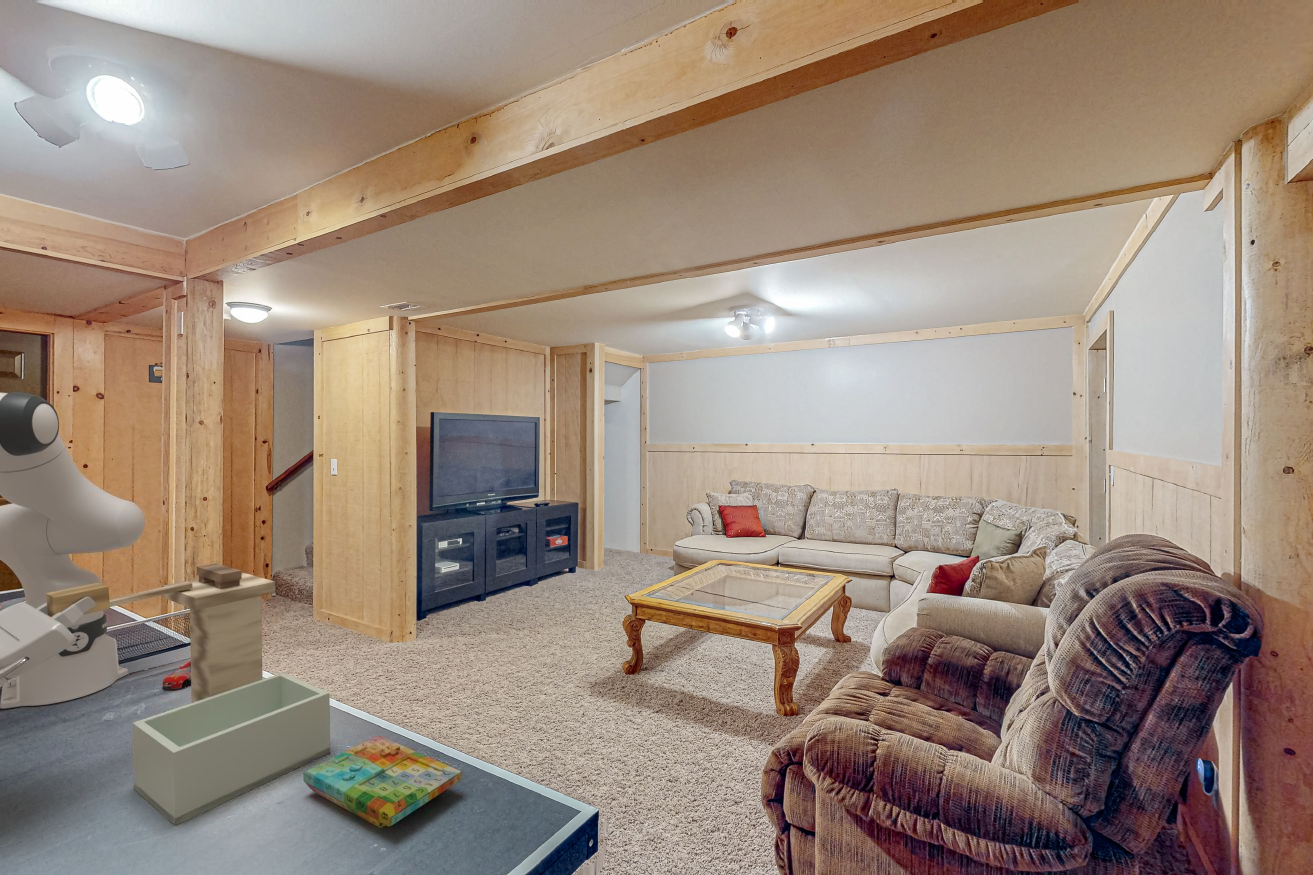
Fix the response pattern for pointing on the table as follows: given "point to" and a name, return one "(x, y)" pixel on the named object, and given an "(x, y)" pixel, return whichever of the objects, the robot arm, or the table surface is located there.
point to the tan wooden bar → (102, 596)
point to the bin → (228, 744)
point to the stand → (224, 628)
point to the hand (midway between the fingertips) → (85, 596)
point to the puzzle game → (381, 780)
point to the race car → (179, 678)
